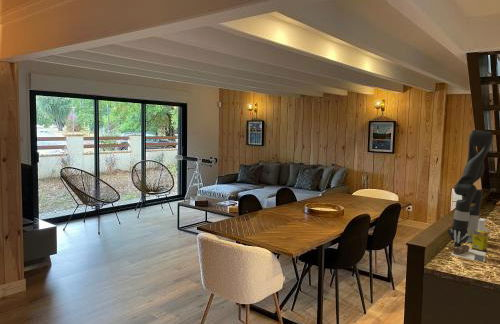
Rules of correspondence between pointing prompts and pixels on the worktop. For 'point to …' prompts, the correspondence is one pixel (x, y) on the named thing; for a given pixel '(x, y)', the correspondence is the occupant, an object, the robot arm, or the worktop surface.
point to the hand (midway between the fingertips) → (457, 248)
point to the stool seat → (471, 254)
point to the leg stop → (479, 258)
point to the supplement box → (480, 240)
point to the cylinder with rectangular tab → (482, 225)
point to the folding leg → (461, 249)
